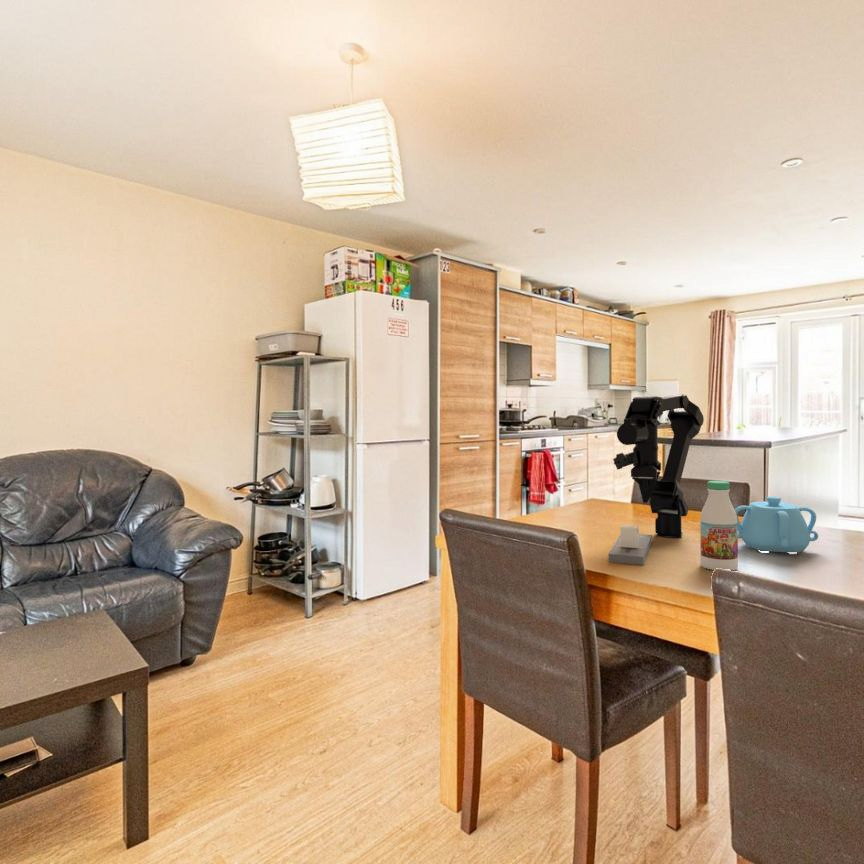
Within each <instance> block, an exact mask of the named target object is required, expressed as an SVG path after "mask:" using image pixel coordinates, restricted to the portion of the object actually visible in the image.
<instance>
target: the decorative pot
mask: <svg viewBox="0 0 864 864" xmlns="http://www.w3.org/2000/svg"><path fill="white" fill-rule="evenodd" d="M765 498H766V501H765V500H764V501H753V502H751V503H750V504H749V505H739V506H737V507H735V508H734V510H735V512H736V516H737V525H738V539H741V540H742V541H743V542H744V543H745V545H746V546H748V547H749V548H752V549H755V550H757V551H758V550H760V551H769V552H777V553H778V552H779V553H786V552H797V553H801V552H804V551H805V550H806V549H807V548H808V546H809V545H810V542H816V541H817V540H818V539H819V534H818V532H817V531H815V530H813V529H814V527H815V525H816V522H817V513H816V512H815V511H814V509H812V508H809V507H806V506H797V505H796V504H793V503H790V502H783V501H782V498H781V497H779V496H767V497H765ZM743 510H746V511H745V513H744V515H743V517H742V519H741V522H740V519H739V512H740V511H743ZM803 511H804V512H808V513H809V514H810V520H809V523H807V522H806V520H805V518H804V515H803V514H802V512H803ZM811 534H813V536H811Z"/></svg>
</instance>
